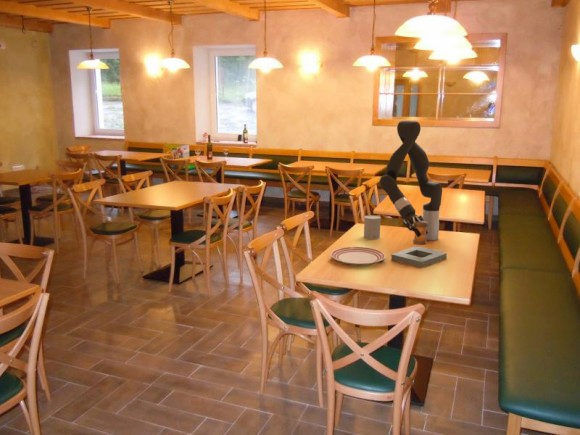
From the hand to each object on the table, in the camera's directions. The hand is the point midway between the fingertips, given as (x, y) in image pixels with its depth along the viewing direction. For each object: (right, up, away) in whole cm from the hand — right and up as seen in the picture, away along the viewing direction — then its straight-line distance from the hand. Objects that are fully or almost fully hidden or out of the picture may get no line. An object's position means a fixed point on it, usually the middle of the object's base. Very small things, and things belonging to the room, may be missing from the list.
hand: (423, 234), depth 262 cm
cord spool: (-1, -4, +2) cm, 5 cm away
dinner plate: (-32, -13, +4) cm, 35 cm away
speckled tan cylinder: (-18, -3, +47) cm, 51 cm away
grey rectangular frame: (-1, -13, +4) cm, 13 cm away
